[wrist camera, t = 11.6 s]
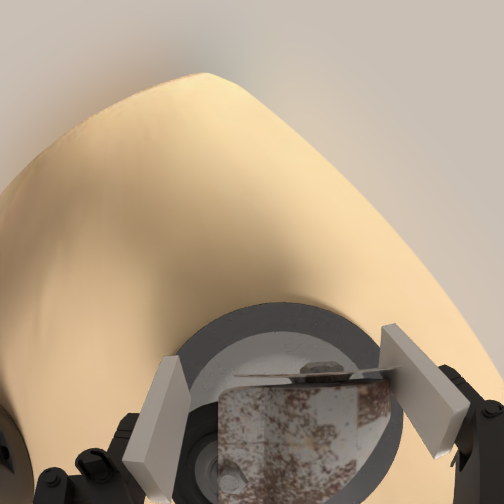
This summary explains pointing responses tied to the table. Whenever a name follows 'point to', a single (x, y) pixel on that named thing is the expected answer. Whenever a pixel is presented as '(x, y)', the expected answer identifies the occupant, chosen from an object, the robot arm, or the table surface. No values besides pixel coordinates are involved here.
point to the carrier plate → (288, 367)
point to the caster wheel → (283, 438)
